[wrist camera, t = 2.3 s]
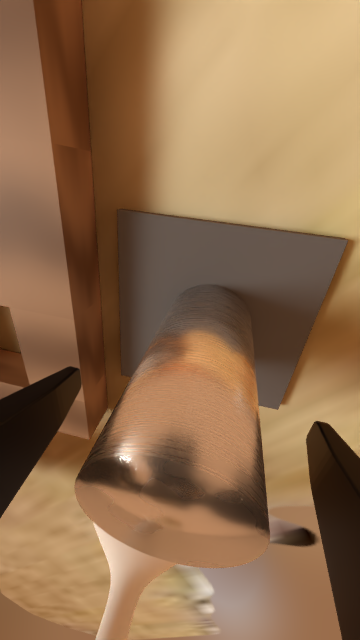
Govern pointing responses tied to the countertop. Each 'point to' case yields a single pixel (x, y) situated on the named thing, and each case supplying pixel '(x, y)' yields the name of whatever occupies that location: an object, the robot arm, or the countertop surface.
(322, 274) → the rubber mat
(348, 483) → the robot arm
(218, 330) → the steel peg
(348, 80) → the countertop surface
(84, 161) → the hole block
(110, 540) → the flower in vase
